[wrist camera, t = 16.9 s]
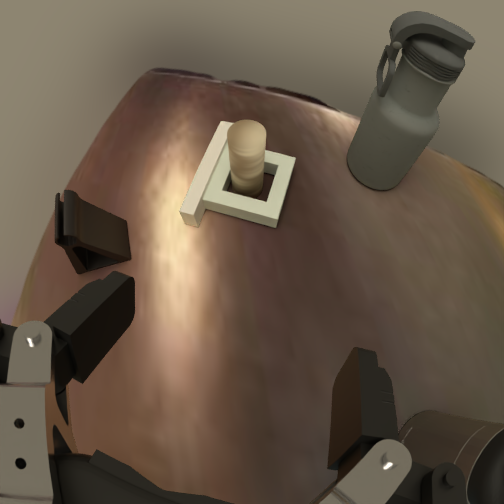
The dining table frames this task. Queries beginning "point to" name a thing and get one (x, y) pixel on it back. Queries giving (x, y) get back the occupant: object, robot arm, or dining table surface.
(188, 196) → the backstop wall
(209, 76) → the dining table surface
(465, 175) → the dining table surface
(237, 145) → the dowel
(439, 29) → the water bottle
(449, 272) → the dining table surface
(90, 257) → the phone stand
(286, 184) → the pale green square frame
